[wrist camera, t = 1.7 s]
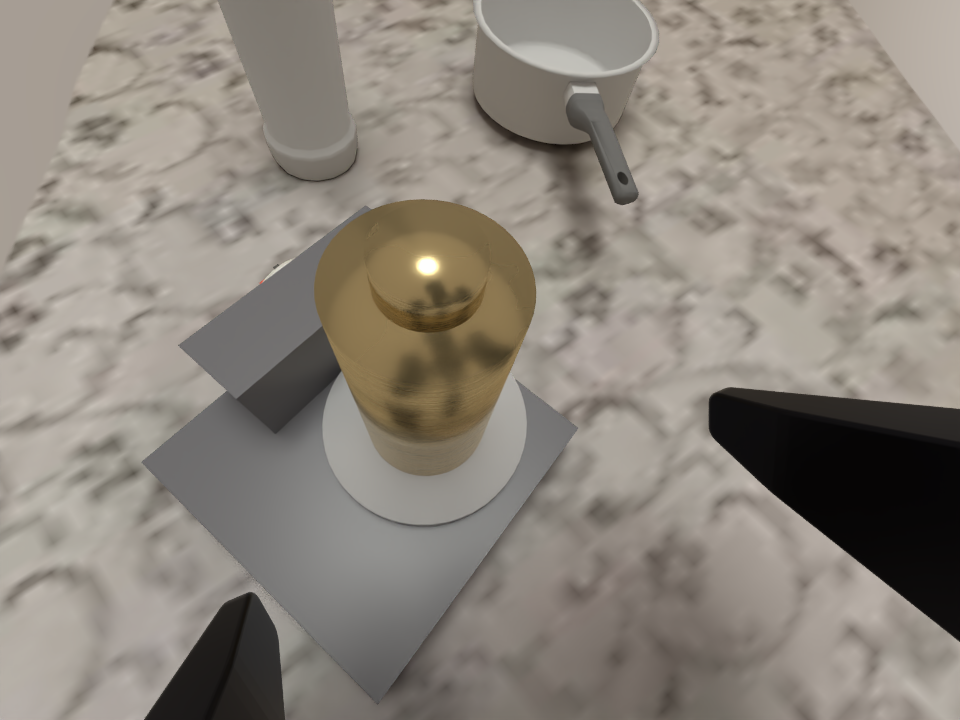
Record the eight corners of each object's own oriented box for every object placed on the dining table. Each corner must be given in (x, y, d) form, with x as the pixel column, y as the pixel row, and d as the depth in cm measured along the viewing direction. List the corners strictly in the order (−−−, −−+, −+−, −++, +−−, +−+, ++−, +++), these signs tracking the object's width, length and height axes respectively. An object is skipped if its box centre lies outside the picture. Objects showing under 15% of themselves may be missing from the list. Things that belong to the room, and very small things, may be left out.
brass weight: (507, 411, 18) (592, 248, 9) (432, 502, 16) (441, 416, 7) (422, 344, 19) (419, 132, 10) (342, 423, 17) (245, 254, 8)
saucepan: (493, 268, 25) (509, 194, 20) (457, 50, 33) (463, -42, 28) (679, 262, 27) (737, 191, 22) (602, 55, 35) (631, -30, 30)
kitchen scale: (565, 439, 21) (616, 390, 15) (383, 686, 16) (361, 751, 11) (374, 289, 24) (357, 199, 18) (167, 467, 19) (52, 422, 13)
